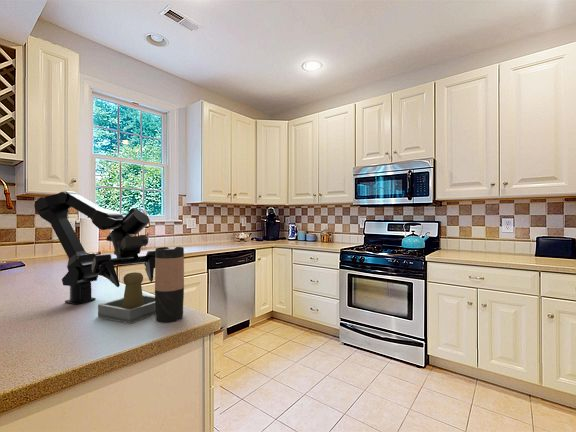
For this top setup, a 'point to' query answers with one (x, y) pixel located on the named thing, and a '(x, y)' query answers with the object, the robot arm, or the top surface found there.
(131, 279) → the cork
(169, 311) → the travel mug
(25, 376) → the top surface
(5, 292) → the top surface
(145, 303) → the gray square tray
